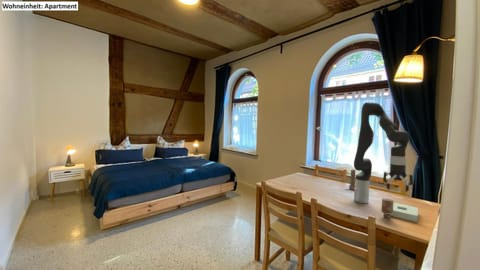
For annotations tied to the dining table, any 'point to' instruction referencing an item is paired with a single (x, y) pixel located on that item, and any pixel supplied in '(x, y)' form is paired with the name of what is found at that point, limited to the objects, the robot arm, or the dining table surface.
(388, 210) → the peg
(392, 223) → the dining table surface
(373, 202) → the dining table surface
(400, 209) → the socket block
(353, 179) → the wooden block
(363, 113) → the robot arm
